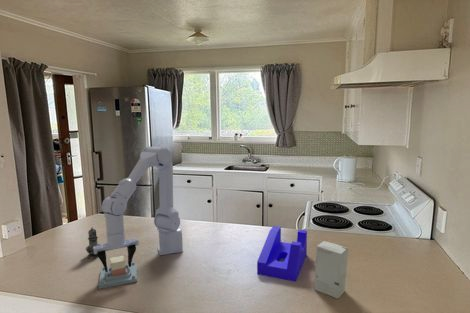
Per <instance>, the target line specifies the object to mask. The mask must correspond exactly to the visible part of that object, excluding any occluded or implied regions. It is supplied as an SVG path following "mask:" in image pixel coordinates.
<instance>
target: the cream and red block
mask: <svg viewBox="0 0 470 313" xmlns="http://www.w3.org/2000/svg"><path fill="white" fill-rule="evenodd" d="M109 264H110V265H109V266H110V267H111V274H112V277H113V276H118V275H124V274H126V266H125V264H126V259H125V256H124V255H119V256H118V255H117V256H115V257H110V258H109Z"/></svg>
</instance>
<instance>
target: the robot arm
mask: <svg viewBox="0 0 470 313" xmlns="http://www.w3.org/2000/svg"><path fill="white" fill-rule="evenodd" d="M139 154H140V155H139V157H140V158H139V159H138V161H137V162H136V164H135V166H134V167H133V169H132V170H131V172H130V174H129V176H128V177H126V178H122V179H121V180H119V182H118V185H117V186H116V187H115V189H114V190H113V191H112V192H111V193H110V196H108V197H105V198H104V199H103V200H102V204H101V206H100V210H101V212H103V215H104V217H105V219H104V220H105V230H106V231H105V232H106V241H107V242H105V243H102V244H100V245H99V246H95V247H93V249H94V254H97V253H98V257H97V258H98V259H99V260H100V262H101V264H102V266H103V267H104V268H105V272H108V269H107V267H108V265H107V253H106V252H107V251H114V250H118V249H123V248H127V249H126V250H127V264H128V265H129V267H131V263H132V262H133V257H134V256H135V253H136V250H137V246H140V244H139V243H140V241H139V239H138V237H137V238H129V239H128V238H126V237H125V235H126V234H125V233H126V232H125V225H124V224H125V219H124V212H126V210H127V206H128V205H127V204H128V201H129V199H130V198H131V196H133V194H134V192H135V191H136V189H137V183H138V182H139V180H141V178H142V177H143V176H144V174H145V173H146V172H147V171H148V170H149V168H153V167H155V168H156V169H158V182H159V183H158V185H159V186H158V190H159V198H158V199H159V206H158V208H157V209H156V210H155V215H154V218H153V224H154V227H156V228H157V231H158V246H157V249H158V254H159V256H164V255H171V254H177V253H183V252H184V249H183V248H184V247H183V246H184V245H183V233H182V229H181V227H180V225H181V219H180V216H179V215H180V214H179V211H178V210H177V208H175V207H174V163H173V161H172V160H173V159H172V151H171V150H170V149H169V148H167V147H159V146H158V147H157V146H149V145H148V146H146V147H144V148H143V150H142V152H141V153H139Z"/></svg>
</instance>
